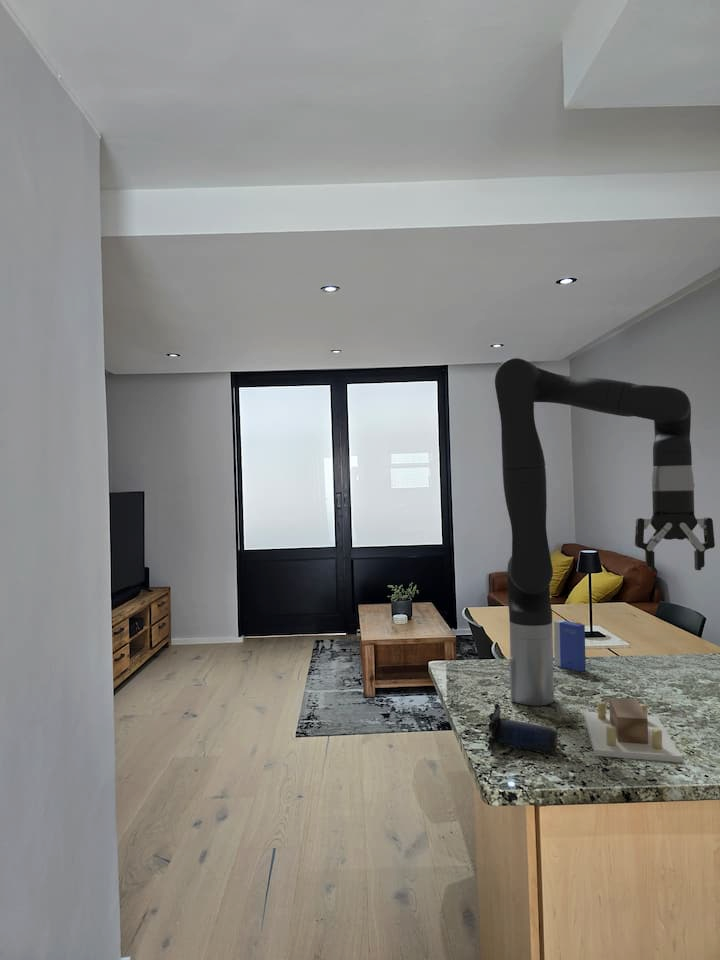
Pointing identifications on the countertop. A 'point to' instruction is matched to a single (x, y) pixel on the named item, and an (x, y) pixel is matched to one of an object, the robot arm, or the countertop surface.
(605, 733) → the board
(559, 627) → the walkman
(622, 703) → the brown rectangular block
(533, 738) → the beverage can
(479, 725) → the countertop surface
